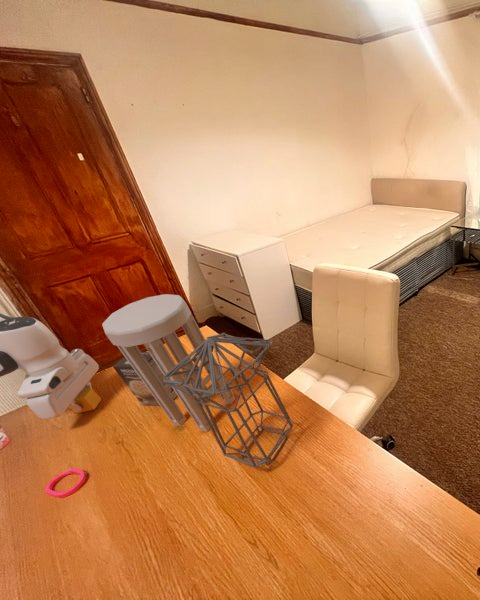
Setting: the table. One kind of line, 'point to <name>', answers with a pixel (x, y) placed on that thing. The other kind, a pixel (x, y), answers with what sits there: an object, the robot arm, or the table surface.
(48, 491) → the fitness band
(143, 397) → the coffee box
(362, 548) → the table surface
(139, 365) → the stool
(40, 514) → the table surface
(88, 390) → the yellow block
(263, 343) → the geometric lantern
